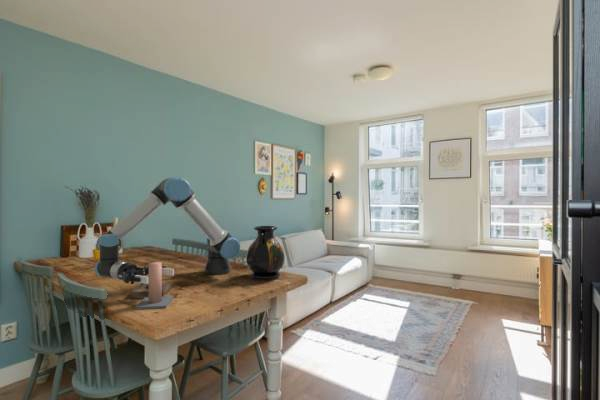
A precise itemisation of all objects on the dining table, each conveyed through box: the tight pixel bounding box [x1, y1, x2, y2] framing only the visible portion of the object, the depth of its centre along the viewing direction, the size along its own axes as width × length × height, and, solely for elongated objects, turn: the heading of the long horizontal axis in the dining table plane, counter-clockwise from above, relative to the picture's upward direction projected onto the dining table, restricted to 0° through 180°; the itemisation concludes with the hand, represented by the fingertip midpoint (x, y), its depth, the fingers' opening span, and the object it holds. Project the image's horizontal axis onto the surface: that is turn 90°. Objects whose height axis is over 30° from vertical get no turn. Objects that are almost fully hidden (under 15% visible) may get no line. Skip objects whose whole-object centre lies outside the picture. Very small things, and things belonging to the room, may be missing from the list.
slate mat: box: [134, 295, 175, 310], centre depth 133 cm, size 12×12×1 cm
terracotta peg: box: [148, 261, 163, 303], centre depth 133 cm, size 5×5×16 cm
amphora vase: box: [245, 225, 286, 281], centre depth 177 cm, size 22×22×28 cm
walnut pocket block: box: [129, 281, 173, 299], centre depth 147 cm, size 14×14×3 cm
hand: (161, 276), depth 132 cm, fingers open, 13 cm apart
